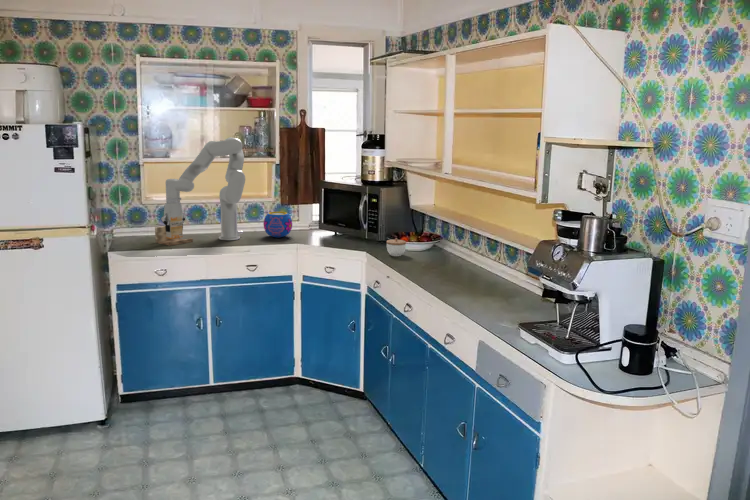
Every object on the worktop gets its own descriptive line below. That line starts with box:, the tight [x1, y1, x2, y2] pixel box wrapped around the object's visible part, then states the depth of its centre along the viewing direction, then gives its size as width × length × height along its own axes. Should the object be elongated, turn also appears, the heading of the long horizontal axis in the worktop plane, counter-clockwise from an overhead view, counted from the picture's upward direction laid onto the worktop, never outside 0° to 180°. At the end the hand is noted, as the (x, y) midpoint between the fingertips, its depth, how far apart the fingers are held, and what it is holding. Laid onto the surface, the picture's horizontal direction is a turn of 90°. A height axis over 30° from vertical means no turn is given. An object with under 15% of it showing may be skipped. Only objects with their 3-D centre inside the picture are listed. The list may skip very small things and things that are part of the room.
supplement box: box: [166, 215, 184, 239], centre depth 372 cm, size 8×5×13 cm, turn 143°
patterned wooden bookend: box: [154, 225, 194, 247], centre depth 373 cm, size 16×13×9 cm
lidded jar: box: [386, 237, 407, 257], centre depth 356 cm, size 11×11×9 cm
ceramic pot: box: [262, 211, 293, 239], centre depth 397 cm, size 18×18×15 cm
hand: (174, 230), depth 373 cm, fingers closed on supplement box, 8 cm apart
